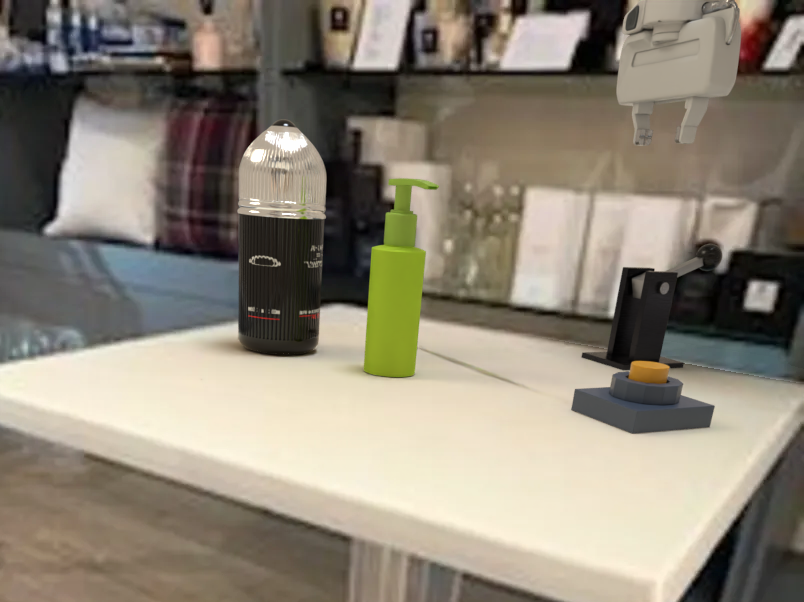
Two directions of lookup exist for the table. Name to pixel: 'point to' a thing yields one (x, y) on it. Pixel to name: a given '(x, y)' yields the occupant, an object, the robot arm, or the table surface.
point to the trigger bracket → (639, 321)
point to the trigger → (687, 266)
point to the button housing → (642, 406)
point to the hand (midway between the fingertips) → (661, 144)
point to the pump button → (649, 372)
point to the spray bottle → (280, 242)
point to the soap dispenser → (396, 289)
